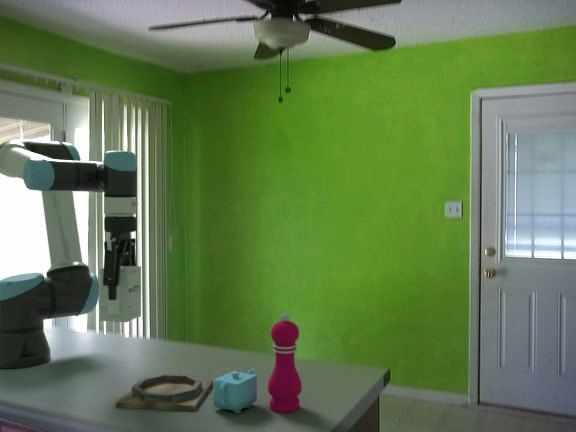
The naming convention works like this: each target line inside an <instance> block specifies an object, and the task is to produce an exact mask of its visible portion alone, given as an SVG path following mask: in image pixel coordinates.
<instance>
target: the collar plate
mask: <svg viewBox="0 0 576 432" xmlns="http://www.w3.org/2000/svg"><path fill="white" fill-rule="evenodd" d="M212 386H214V379H200V378H198V377H195V376H193V375H191V374H187V373H186V374H183V373H181V374H179V373H175V374H174V373H162V374H158V375H152V376H147V377H143V378H140V379H139V380H138V381H136V382H135V384H133V385H132V386H131V388H130V389H129V390H128V391H127V392H126V393H125V394H124V395H123V396H122V397H120V398H119V399H118V400H117V401H116V402H115V408H122V409H124V408H125V409H126V408H128V409H149V410H172V411H173V410H177V411H178V410H179V411H196V409H197V408H198V406H199V405H200V403H202V401H203V399H204V398H205V397H206V395H207V394H208V392H209V391H210V389H211V388H212Z"/></svg>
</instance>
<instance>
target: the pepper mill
mask: <svg viewBox="0 0 576 432" xmlns="http://www.w3.org/2000/svg"><path fill="white" fill-rule="evenodd" d="M299 336H300V330H299V327H298V325H297V324H296V323H295V322H293V321H290V316H289V314H287V313H282V314H281V315H280V320H279V321H277V322H275V323H274V324H273V325H272V328H271V329H270V337H271V340H272V341H273V342H274V343H273V344H272V346H273V347H272V348H273V349H272V351H273V352H274V355H275V359H274V360H275V363H274V367H273V370H272V371H271V374H270V376H269V379H268V382H267V391H268V394H269V395H270V396H271V397H270V399H269V409H270V410H271V411H272V412H275V413H281V414H290V413H289V412H291V413H294V411H295V412H296V411H298V410H299V409H300V398H299V395H300V394H301V392H302V389H303V387H302V386H303V385H302V381H301V377H300V374H299V372H298V370H297V368H296V365H295V353H296V352H297V351H298V350H297V341H298V340H299V338H300V337H299Z"/></svg>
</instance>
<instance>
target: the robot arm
mask: <svg viewBox="0 0 576 432" xmlns="http://www.w3.org/2000/svg"><path fill="white" fill-rule="evenodd" d="M137 173H138V165H137V155H136V154H135V153H134V152H133V151H127V150H126V151H125V150H108V151H105V153H104V155H103V160H102V161H89V160H88V161H87V160H85V161H84V160H81V156H80V153H79V151H78V149H77V148H76V147H75V145H73V144H72V143H69V142H63V141H60V140H55V141H53V140H52V141H51V140H39V139H27V138H15V139H11V140H6V141H4V142H3V143H1V144H0V174H1V175H3V176H6V177H9V178H12V179H13V178H18V179H21V180H23V184H24V185H25V188H27V190H30V191H39V192H41V197H42V206H43V213H44V220H45V221H44V222H45V229H46V236H47V245H48V250H49V251H48V252H49V259H50V268H49V269H48V270H47V271H46V272H45V273H46V276H44V274H43V273H41V272H30V273H28V272H27V273H22V274H21V273H19V274H16V275H11V276H8V277H7V276H6V277H5V278H2V279H1V280H0V369H20V368H21V369H22V368H27V367H33V366H37V365H41V364H43V363H46V362H48V361H49V360H51V358H52V357H51V356H52V355H51V353H52V352H51V347H50V345H49V342H48V340H47V336H46V333H45V329H44V323H45V320H51V319H59V318H66V317H73V316H74V317H79V316H80V315H81V316H82V315H85V314H86V315H87V314H90V313H92V312H93V311H94V310H95V309H96V307H97V304H98V303H99V299H100V279H99V278H98V276H97V275H96V273H92V272H90V268H89V265H87V264H86V263H85V262H83V256H82V250H81V242H80V235H79V229H78V221H77V216H76V208H75V202H74V194H73V192H93V193H104V194H103V214H104V215H106V216H104V219H103V221H104V222H103V223H104V225H103V228H104V232H105V233H110V236H109V240H108V241H107V240H105V241H104V242H103V247H104V249H103V250H104V256H103V257H104V259H103V268H104V272H103V285H104V286H108V313H111V314H119V313H120V285H118V282H119V275H120V269H121V266H137V256H136V255H137V254H136V243H137V242H136V238H135V237H132V236H131V233H135V232H137V229H138V225H137V224H138V223H137V221H138V219H137V217H136V216H135V215H136V214H137V206H138V205H139V202H138V201H137V189H138V187H137V186H138V185H137V183H138V182H137V181H138V180H137V178H138V177H137V176H138V175H137Z"/></svg>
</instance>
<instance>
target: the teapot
mask: <svg viewBox="0 0 576 432" xmlns="http://www.w3.org/2000/svg"><path fill="white" fill-rule="evenodd" d="M254 371H255V368H254V367H253V368H250V369H248V371H247V373H246V372H240V371H237V370H233V371H230V372H228V373H225V374H223V375H221V376H219V377H217V378H214V379H213V407H217V408H219V410H222V411H223V410H224V411H225V410H229V411H233V413H234V414H241V412H242V409H244V408H246V409H247V408H251V407H252V406H251V405H253V403H256V402H257V400H258V399H257V397H258V393H257V391H258V379H257V378H258V375H256V374H253V372H254Z"/></svg>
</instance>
